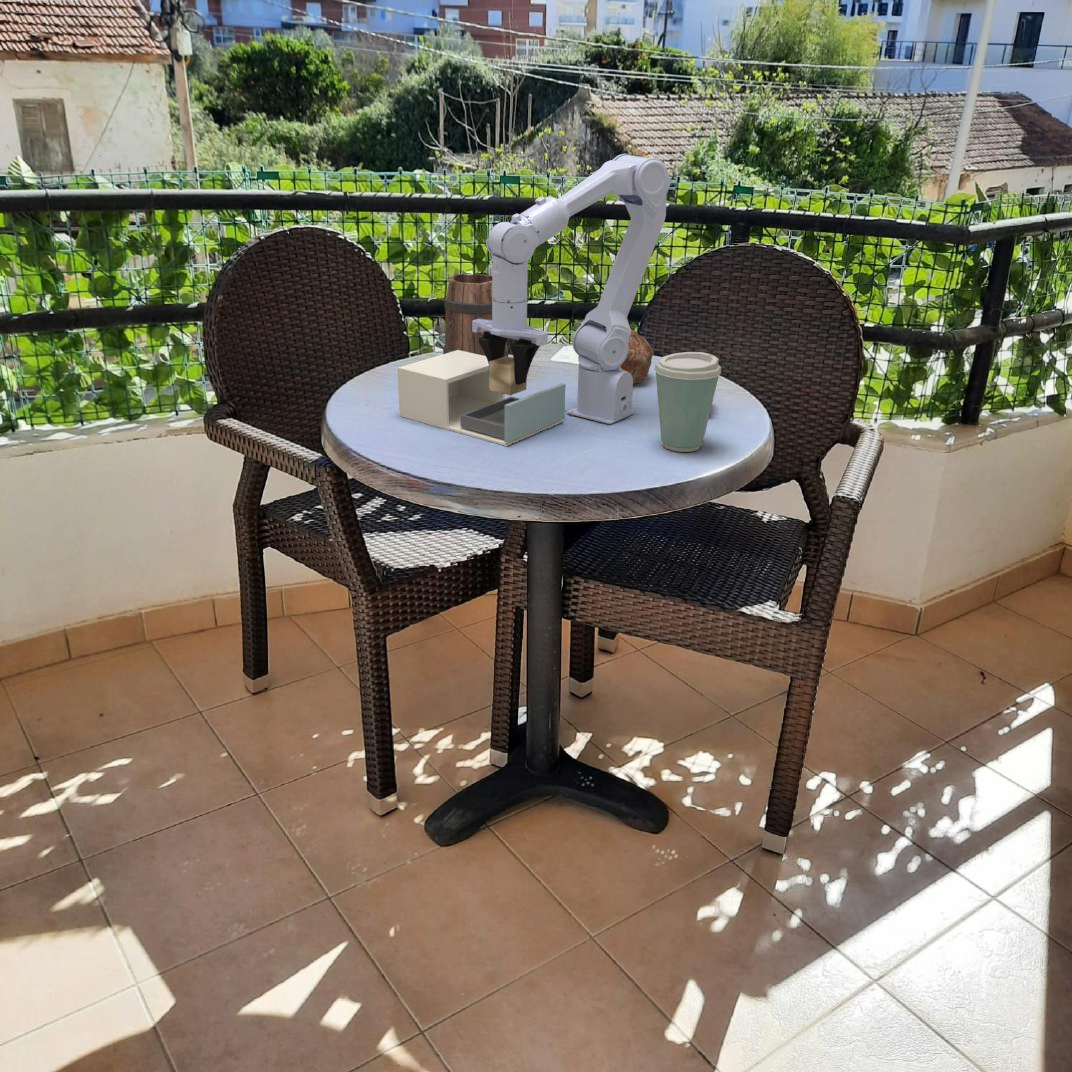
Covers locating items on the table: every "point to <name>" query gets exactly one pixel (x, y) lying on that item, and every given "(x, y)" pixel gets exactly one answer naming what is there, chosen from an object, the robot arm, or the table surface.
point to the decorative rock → (638, 357)
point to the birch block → (504, 377)
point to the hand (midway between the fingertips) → (508, 380)
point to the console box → (448, 392)
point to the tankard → (468, 312)
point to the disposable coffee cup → (685, 398)
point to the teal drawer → (518, 414)
